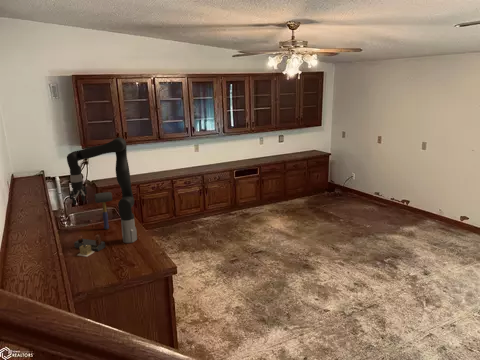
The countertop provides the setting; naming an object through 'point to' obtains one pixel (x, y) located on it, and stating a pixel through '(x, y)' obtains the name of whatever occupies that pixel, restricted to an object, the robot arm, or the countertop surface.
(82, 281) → the countertop surface
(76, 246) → the plane body
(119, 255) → the countertop surface
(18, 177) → the countertop surface
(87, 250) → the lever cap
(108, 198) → the rubber mallet
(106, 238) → the countertop surface
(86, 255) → the felt mat
